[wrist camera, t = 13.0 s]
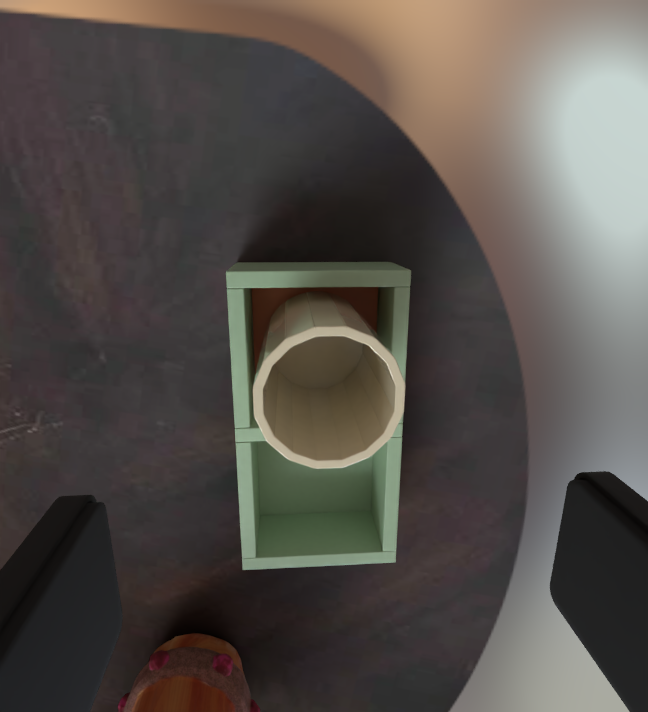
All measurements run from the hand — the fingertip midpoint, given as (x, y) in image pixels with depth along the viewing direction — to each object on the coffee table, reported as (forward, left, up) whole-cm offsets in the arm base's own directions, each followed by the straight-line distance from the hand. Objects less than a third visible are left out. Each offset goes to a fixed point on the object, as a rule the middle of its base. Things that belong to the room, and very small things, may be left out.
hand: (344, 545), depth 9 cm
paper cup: (+1, +1, -18) cm, 18 cm away
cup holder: (+4, 0, -19) cm, 19 cm away
